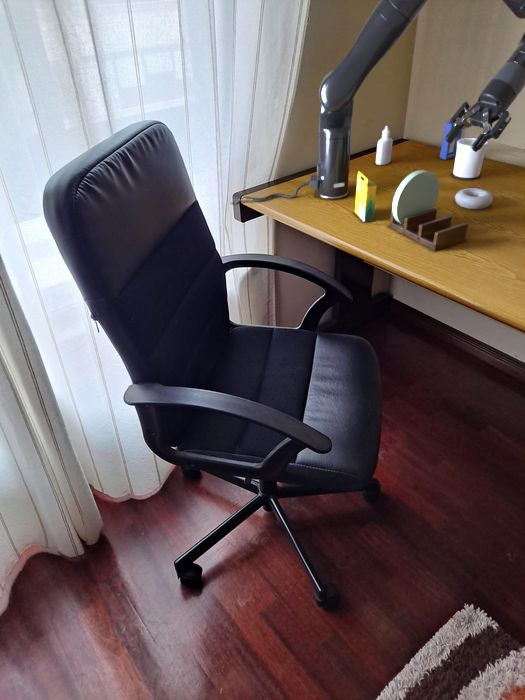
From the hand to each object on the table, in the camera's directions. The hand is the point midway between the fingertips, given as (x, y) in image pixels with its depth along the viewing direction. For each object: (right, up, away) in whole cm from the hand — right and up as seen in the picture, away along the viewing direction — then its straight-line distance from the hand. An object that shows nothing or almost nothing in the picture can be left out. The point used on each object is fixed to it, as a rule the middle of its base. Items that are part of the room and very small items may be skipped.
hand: (460, 145), depth 124 cm
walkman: (+16, +17, +50) cm, 55 cm away
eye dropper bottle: (-8, +14, +48) cm, 50 cm away
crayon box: (-21, -14, +13) cm, 29 cm away
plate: (-10, -19, +7) cm, 22 cm away
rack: (-8, -21, +3) cm, 23 cm away
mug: (+16, +5, +35) cm, 39 cm away
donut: (+10, -10, +16) cm, 22 cm away
